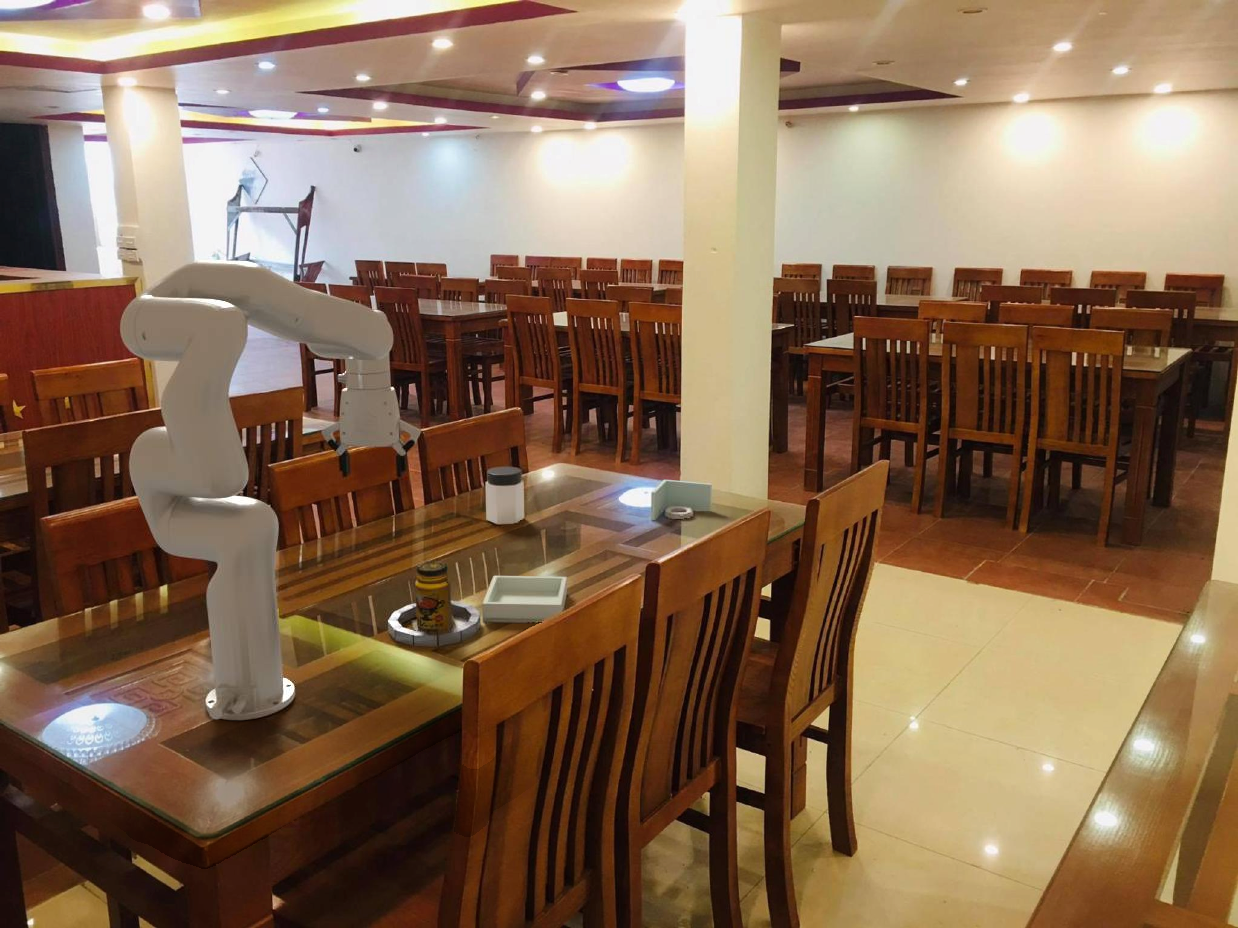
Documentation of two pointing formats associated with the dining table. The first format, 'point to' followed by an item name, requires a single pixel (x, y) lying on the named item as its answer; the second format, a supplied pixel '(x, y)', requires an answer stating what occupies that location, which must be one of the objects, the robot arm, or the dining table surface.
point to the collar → (434, 637)
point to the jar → (504, 495)
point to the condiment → (433, 598)
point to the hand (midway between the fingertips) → (373, 475)
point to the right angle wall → (680, 498)
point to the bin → (524, 598)
